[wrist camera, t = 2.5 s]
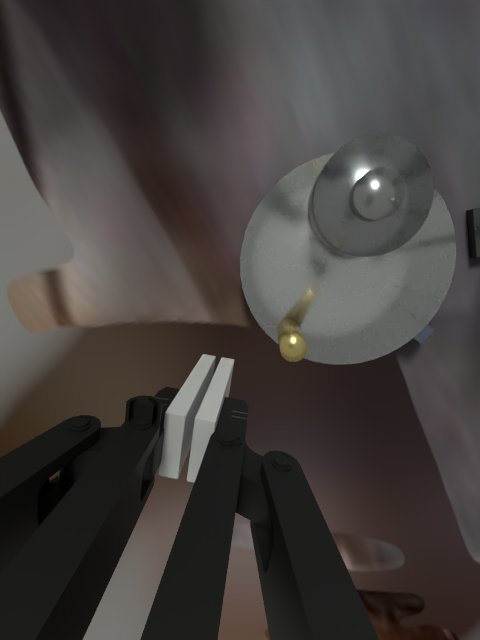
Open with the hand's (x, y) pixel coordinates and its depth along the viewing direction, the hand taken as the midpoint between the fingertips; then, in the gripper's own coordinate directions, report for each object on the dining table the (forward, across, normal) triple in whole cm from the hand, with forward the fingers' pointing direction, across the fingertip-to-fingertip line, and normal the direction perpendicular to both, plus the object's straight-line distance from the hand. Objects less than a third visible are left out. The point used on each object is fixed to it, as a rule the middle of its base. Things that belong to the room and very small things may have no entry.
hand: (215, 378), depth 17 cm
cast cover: (+16, +10, +14) cm, 23 cm away
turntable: (+18, +10, +8) cm, 22 cm away
